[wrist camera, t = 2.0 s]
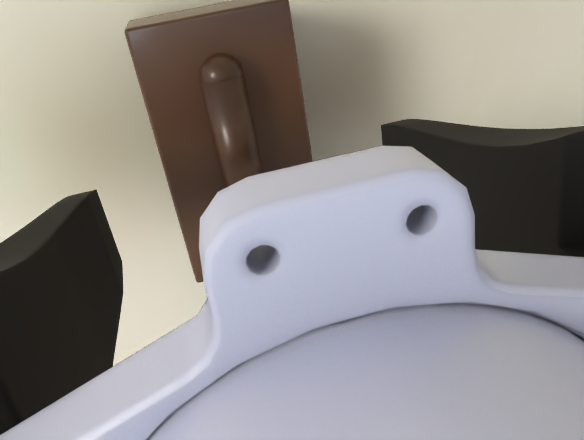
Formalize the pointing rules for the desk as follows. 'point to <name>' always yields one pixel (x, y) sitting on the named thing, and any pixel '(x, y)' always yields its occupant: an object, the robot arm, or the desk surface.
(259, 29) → the brown block with peg
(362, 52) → the desk surface
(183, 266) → the desk surface
